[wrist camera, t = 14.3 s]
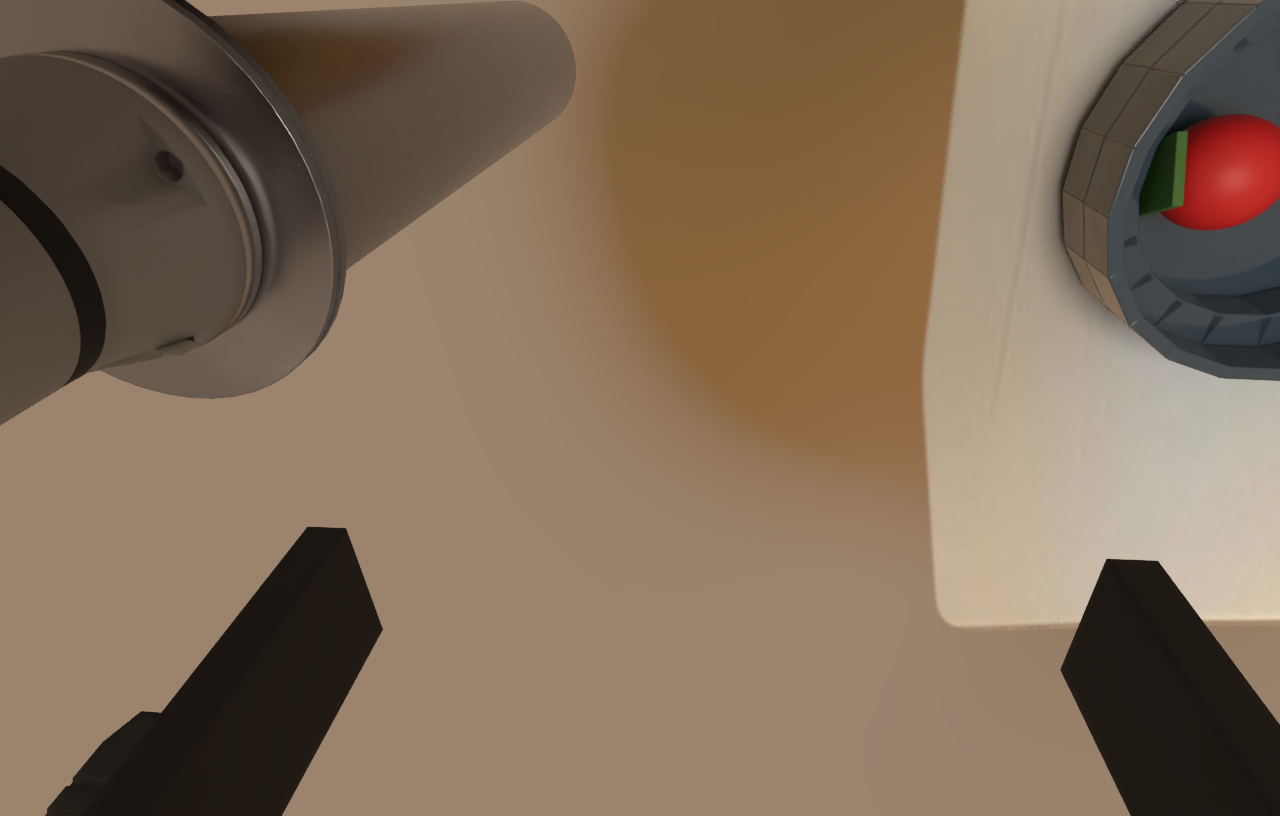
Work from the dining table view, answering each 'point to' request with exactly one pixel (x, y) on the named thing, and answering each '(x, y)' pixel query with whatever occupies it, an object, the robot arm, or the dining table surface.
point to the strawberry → (1214, 173)
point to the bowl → (1152, 245)
